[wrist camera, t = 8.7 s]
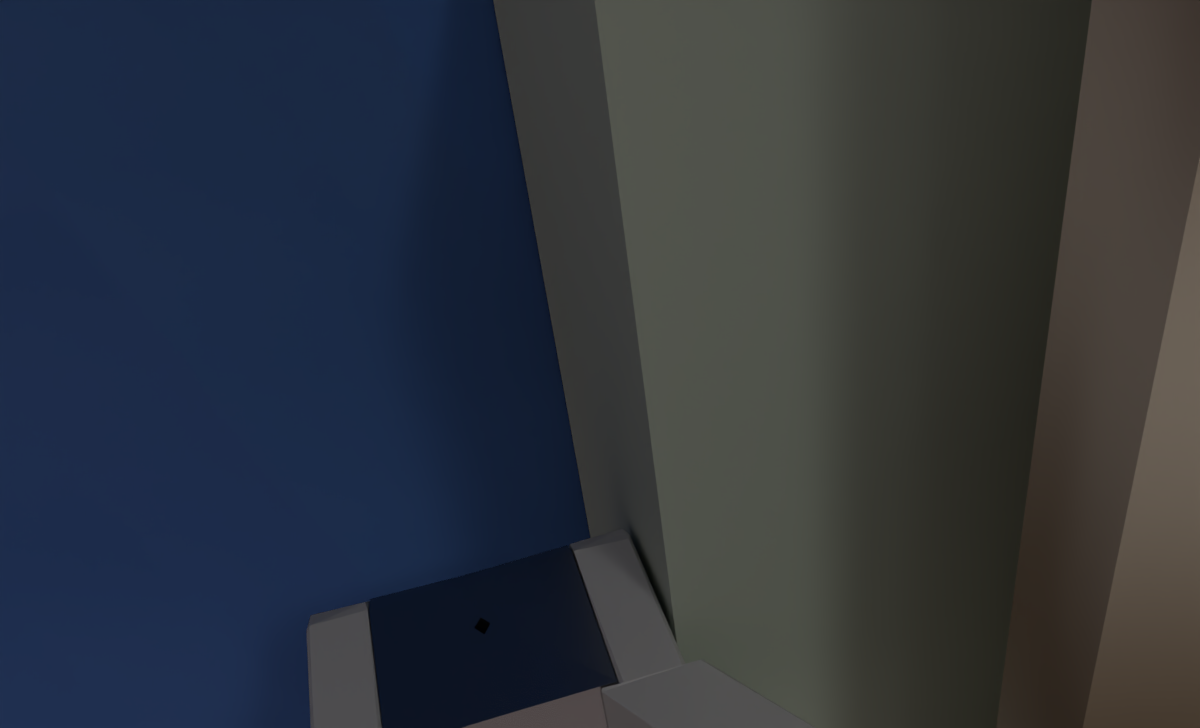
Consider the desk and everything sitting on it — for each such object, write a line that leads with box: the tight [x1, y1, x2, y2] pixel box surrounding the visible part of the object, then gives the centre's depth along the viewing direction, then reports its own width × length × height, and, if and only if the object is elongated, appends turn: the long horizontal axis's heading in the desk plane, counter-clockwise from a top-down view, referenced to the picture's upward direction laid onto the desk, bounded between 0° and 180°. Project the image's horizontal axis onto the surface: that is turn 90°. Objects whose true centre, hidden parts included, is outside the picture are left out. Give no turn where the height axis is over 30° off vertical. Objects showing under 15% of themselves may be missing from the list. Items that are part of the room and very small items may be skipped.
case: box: [493, 0, 1092, 728], centre depth 11 cm, size 12×9×4 cm
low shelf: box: [996, 0, 1200, 728], centre depth 10 cm, size 20×10×6 cm, turn 8°
